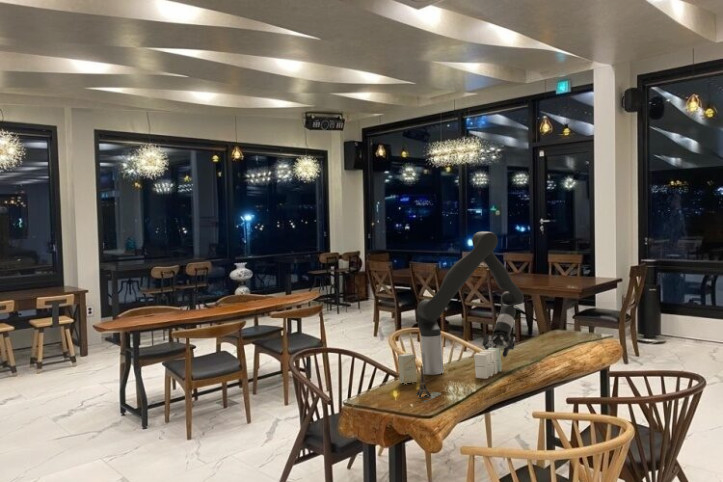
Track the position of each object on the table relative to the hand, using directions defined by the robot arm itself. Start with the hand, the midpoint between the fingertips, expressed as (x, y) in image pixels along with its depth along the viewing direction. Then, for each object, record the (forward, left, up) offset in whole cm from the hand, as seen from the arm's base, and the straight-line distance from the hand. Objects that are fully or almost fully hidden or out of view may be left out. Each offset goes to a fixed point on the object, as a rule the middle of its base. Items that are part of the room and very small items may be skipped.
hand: (495, 355), depth 252 cm
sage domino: (0, 0, -7) cm, 7 cm away
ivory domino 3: (-3, -4, -7) cm, 8 cm away
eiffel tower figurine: (-32, -36, -8) cm, 49 cm away
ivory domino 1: (-7, -12, -7) cm, 15 cm away
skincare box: (-39, -15, -7) cm, 42 cm away
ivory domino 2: (-5, -8, -7) cm, 12 cm away
